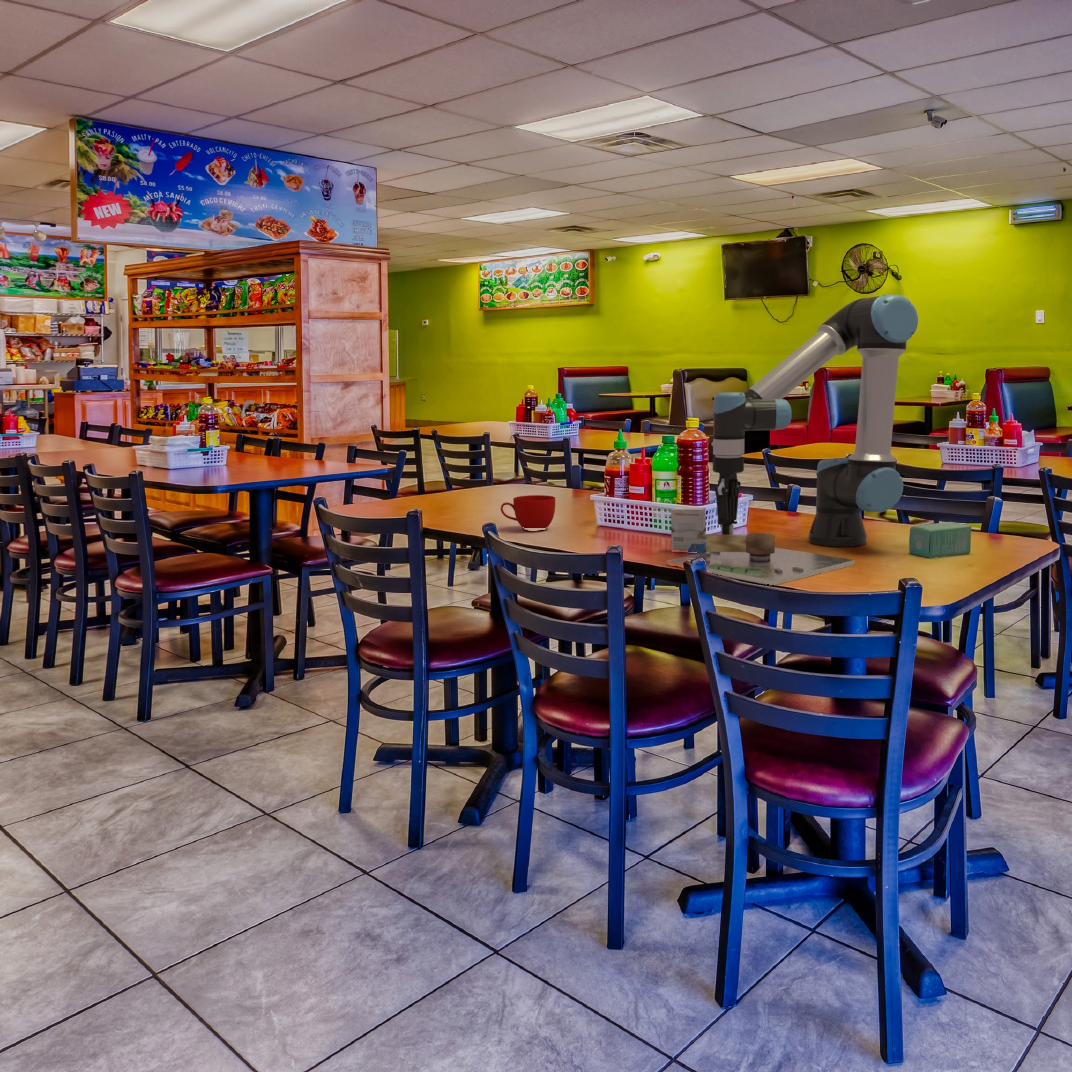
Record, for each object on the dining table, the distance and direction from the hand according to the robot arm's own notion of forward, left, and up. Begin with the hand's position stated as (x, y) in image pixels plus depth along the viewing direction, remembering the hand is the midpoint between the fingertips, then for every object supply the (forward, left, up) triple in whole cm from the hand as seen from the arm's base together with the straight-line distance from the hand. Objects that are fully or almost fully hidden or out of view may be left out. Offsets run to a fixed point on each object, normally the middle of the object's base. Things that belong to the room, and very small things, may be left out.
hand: (726, 550), depth 236 cm
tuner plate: (-2, +8, -3) cm, 9 cm away
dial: (+1, +4, 0) cm, 4 cm away
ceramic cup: (+4, -74, -3) cm, 74 cm away
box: (-45, +31, -3) cm, 55 cm away
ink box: (-3, -16, -3) cm, 17 cm away
